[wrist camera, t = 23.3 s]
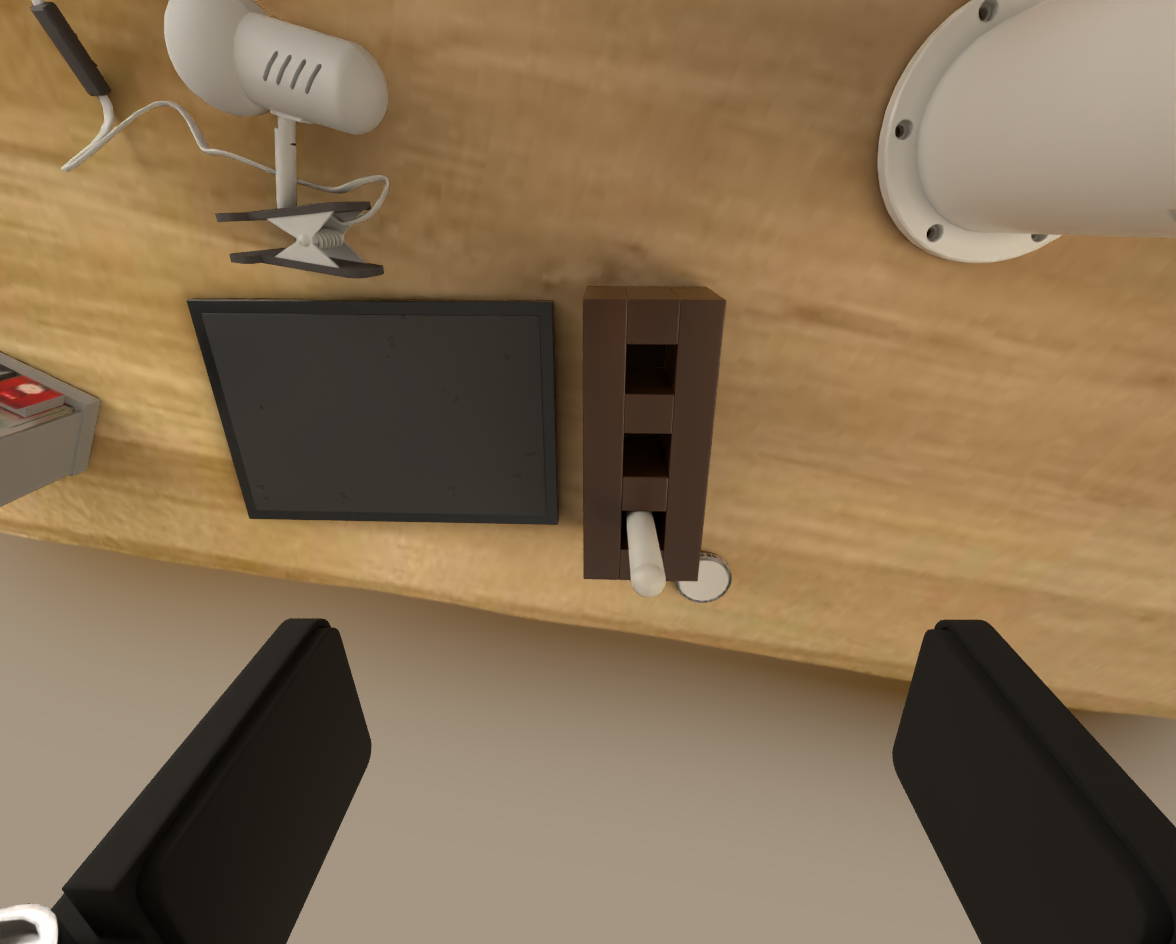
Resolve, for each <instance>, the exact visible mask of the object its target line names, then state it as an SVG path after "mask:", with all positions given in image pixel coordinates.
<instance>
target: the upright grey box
mask: <svg viewBox="0 0 1176 944" xmlns="http://www.w3.org/2000/svg"><path fill="white" fill-rule="evenodd" d="M100 401H101V400H100V399H98V398H95V397H93V396H91V395H89V394H87V393H85V392H83V391H81V390H79V389H77V388H74V387H72V386H70V385H68V384H66V383H64V382H62V381H60V380H58V379H56V378H53V377H51V376H49V375H47V374H45V373H43V372H41V371H39V370H37V369H35V368H32V367H30V366H28V365H26V364H24V363H22V362H20V361H18V360H16V359H14V358H11V357H9V356H7V355H5V354H3V353H1V352H0V507H1V506H3V505H5V504H8V503H10V502H12V501H14V500H16V499H18V498H20V497H23V496H25V495H27V494H29V493H31V492H33V491H35V490H38V489H40V488H42V487H44V486H46V485H48V484H51V483H53V482H55V481H57V480H59V479H61V478H63V477H66V476H68V475H70V476H75V475H77V474H79V473H81V472H84V471H86V470H87V467H88V462H89V457H90V452H91V447H92V442H93V437H94V432H95V427H96V422H97V417H98V412H99V406H100Z"/></svg>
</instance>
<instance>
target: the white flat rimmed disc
mask: <svg viewBox="0 0 1176 944" xmlns="http://www.w3.org/2000/svg"><path fill="white" fill-rule="evenodd" d="M731 580H732V577H731V572H730V569H729V567H728V565H727V563H726V562H725V561H724V560H723V559H722V558H721V557H719V556H717V555H715V554H711V553H701V554H700V564H699V574H698V581H676V586H677V589H678V591H679V592H680V594H681V595H682V596H683V597H685V598H686V599H688V600H690V601H693V602H698V603H707V602H711V601H714V600H717V599H719V598H720V597H722V596H723V595H724V594H725V593H726V592H727V591H728V589H729V587H730V585H731Z"/></svg>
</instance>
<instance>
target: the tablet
mask: <svg viewBox="0 0 1176 944" xmlns="http://www.w3.org/2000/svg"><path fill="white" fill-rule="evenodd" d="M187 303H188V307H189V310H190V314H191V317H192V321H193V324H194V328H195V331H196V335H197V338H198V342H199V345H200V349H201V352H202V355H203V359H204V362H205V366H206V369H207V373H208V376H209V380H210V383H211V387H212V390H213V394H214V397H215V400H216V404H217V407H218V411H219V414H220V418H221V421H222V425H223V428H224V432H225V435H226V439H227V442H228V445H229V449H230V452H231V456H232V459H233V463H234V466H235V470H236V473H237V477H238V480H239V484H240V487H241V491H242V494H243V497H244V501H245V504H246V508H247V511H248V515H249V518H250V519H291V520H342V521H394V522H445V523H497V524H548V525H558V522H559V497H558V454H557V411H556V368H555V325H554V301H553V300H443V299H279V298H192V299H188V300H187Z"/></svg>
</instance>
